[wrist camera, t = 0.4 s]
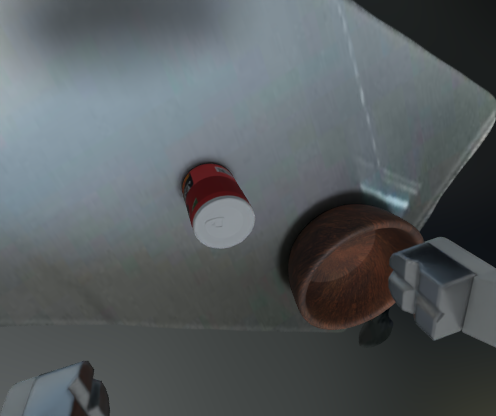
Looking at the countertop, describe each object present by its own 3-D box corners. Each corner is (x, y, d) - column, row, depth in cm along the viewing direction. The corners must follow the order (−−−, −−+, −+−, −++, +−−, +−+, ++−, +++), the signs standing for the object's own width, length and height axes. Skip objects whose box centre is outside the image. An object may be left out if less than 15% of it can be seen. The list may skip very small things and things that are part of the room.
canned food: (175, 169, 46) (186, 208, 37) (228, 155, 48) (251, 190, 39) (188, 212, 51) (200, 256, 42) (236, 198, 52) (259, 238, 43)
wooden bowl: (296, 188, 55) (326, 221, 46) (408, 193, 64) (450, 222, 55) (263, 296, 66) (283, 338, 58) (362, 288, 75) (391, 323, 67)
